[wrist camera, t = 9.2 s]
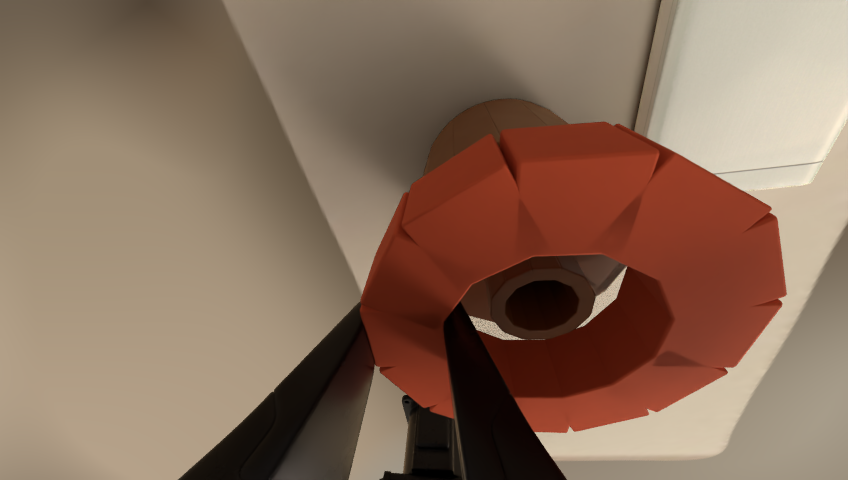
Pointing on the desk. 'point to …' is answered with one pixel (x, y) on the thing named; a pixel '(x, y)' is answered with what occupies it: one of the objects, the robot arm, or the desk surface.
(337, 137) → the desk surface
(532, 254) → the orange faceted ring
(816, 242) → the desk surface
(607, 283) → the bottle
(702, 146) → the hard drive
